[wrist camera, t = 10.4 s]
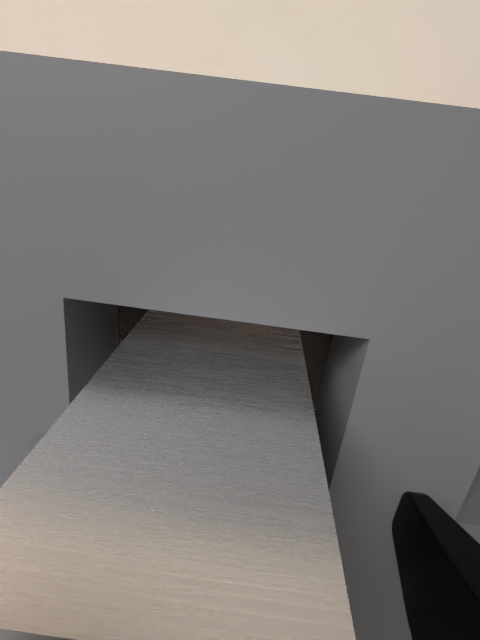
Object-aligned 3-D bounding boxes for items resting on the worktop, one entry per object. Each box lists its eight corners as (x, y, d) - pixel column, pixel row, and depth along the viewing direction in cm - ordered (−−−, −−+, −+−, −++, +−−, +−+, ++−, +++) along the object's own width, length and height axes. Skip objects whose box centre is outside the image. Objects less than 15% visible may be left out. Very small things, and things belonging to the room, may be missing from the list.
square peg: (276, 437, 12) (288, 865, 5) (151, 420, 12) (-31, 814, 5) (298, 321, 11) (362, 682, 3) (154, 302, 11) (-105, 612, 3)
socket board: (604, 601, 14) (689, 712, 11) (52, 519, 14) (-1, 605, 11) (908, 187, 8) (1223, 198, 6) (11, 78, 9) (-107, 37, 6)
